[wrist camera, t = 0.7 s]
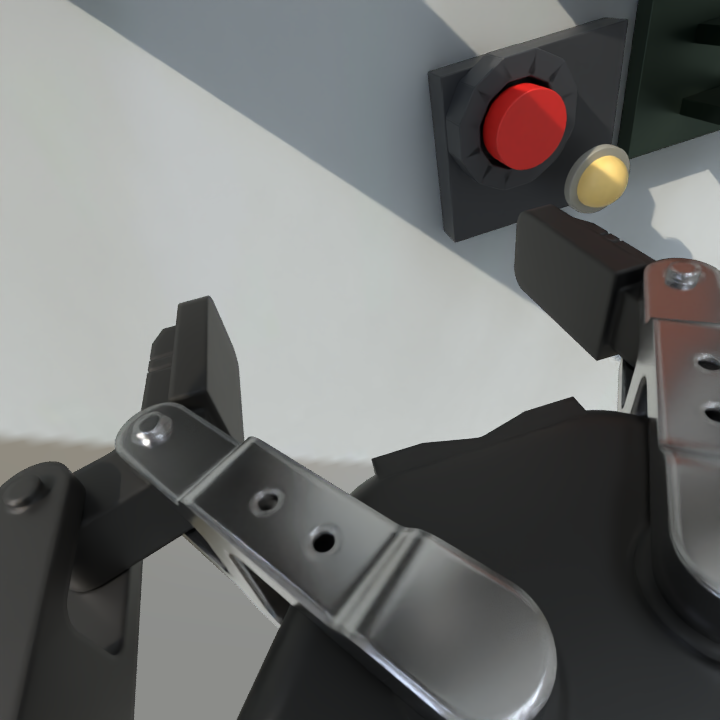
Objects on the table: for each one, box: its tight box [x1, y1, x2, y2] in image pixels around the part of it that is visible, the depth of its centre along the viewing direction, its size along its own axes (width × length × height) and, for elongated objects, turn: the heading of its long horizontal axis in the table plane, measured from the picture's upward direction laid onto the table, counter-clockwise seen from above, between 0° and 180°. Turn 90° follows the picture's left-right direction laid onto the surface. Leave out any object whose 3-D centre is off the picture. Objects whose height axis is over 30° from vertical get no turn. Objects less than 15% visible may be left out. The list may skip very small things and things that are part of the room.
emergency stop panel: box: [428, 18, 628, 242], centre depth 29 cm, size 10×11×4 cm
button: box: [483, 83, 567, 170], centre depth 25 cm, size 4×4×2 cm
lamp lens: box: [564, 144, 630, 213], centre depth 28 cm, size 4×4×3 cm
